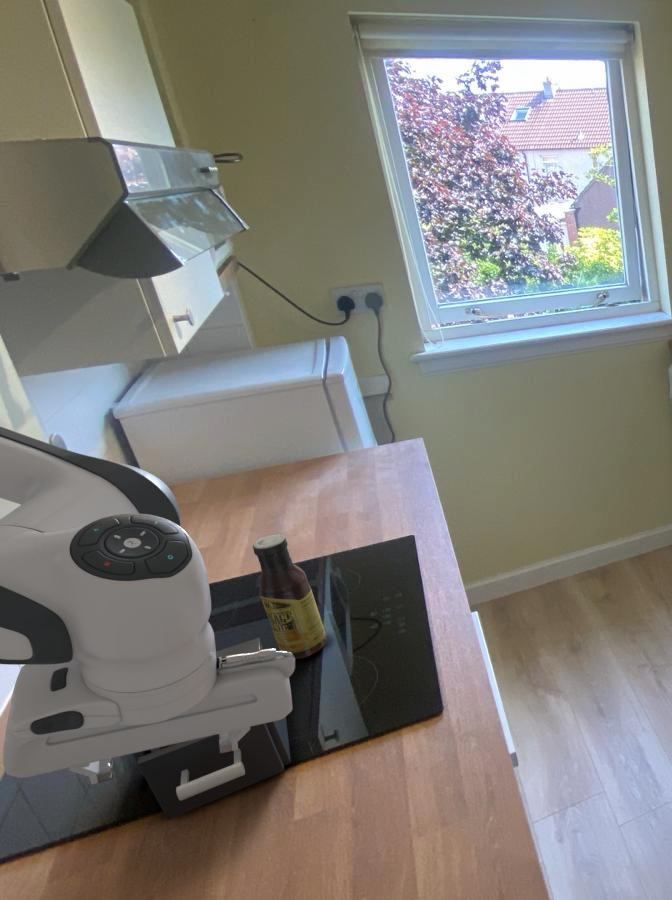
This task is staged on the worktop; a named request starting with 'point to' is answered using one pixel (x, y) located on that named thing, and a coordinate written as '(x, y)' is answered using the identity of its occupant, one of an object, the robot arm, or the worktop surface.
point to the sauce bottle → (288, 599)
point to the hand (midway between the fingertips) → (168, 760)
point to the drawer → (208, 769)
